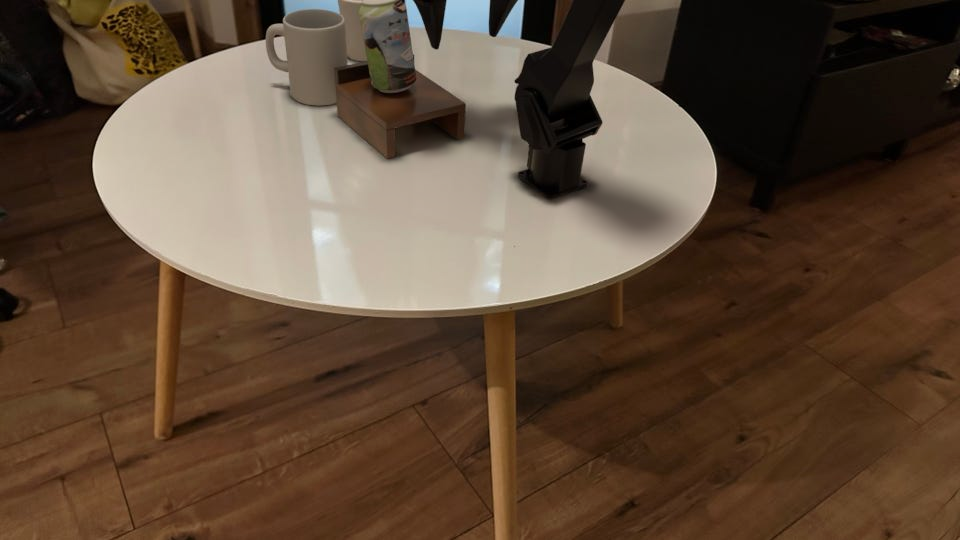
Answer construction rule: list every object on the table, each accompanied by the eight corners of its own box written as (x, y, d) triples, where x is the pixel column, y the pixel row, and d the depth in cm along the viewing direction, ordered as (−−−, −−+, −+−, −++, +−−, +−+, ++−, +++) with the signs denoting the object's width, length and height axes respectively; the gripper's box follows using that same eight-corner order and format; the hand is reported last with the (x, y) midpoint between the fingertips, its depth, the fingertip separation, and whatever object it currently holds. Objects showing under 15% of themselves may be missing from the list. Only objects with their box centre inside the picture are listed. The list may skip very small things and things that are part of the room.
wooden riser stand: (464, 137, 94) (466, 88, 90) (387, 159, 89) (386, 108, 84) (410, 98, 103) (410, 52, 99) (337, 115, 97) (333, 67, 93)
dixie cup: (372, 42, 120) (370, -19, 114) (399, 58, 115) (399, -4, 109) (329, 51, 115) (325, -11, 109) (356, 68, 110) (353, 4, 104)
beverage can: (409, 101, 91) (409, 7, 83) (355, 93, 92) (350, 0, 84) (421, 82, 96) (422, -8, 88) (370, 75, 96) (366, -14, 89)
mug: (358, 86, 105) (354, 13, 98) (336, 110, 99) (330, 33, 92) (285, 74, 107) (276, 1, 100) (258, 96, 100) (247, 20, 94)
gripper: (491, -111, 89) (483, 12, 99) (364, -101, 80) (369, 34, 89) (549, -93, 82) (534, 37, 92) (417, -80, 73) (416, 63, 83)
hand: (464, 42), depth 89 cm, fingers open, 9 cm apart
